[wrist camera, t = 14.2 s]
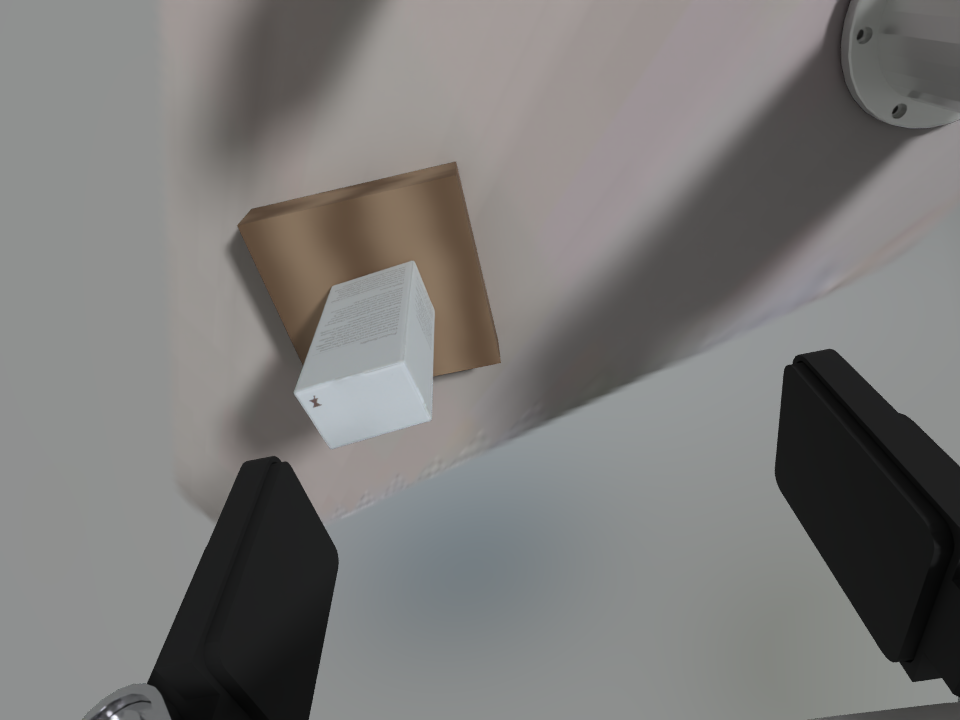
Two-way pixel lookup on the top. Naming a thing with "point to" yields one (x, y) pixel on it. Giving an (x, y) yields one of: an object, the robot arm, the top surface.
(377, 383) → the skincare box
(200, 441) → the top surface
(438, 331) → the walnut base
